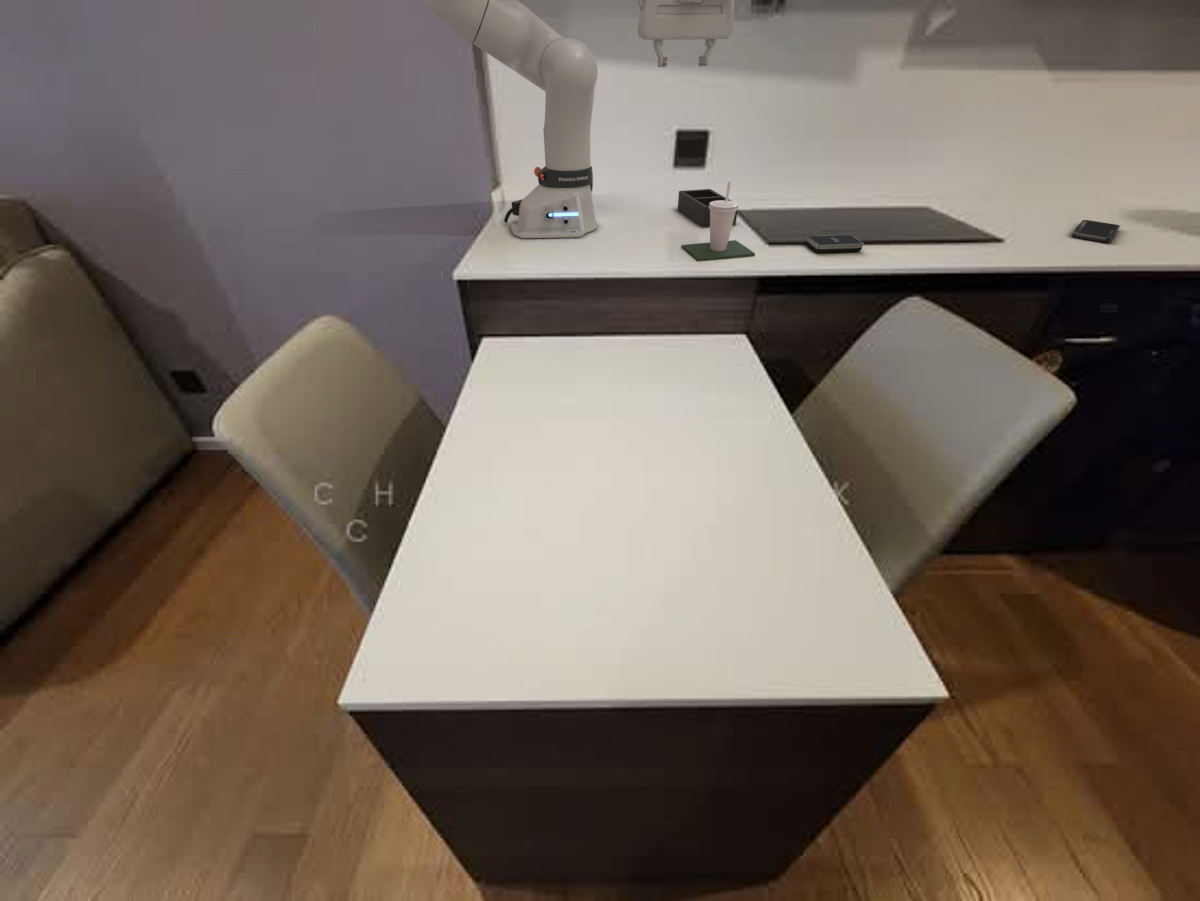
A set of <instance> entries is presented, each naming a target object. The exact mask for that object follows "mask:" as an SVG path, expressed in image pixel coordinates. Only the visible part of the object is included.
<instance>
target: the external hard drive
mask: <svg viewBox="0 0 1200 901" xmlns="http://www.w3.org/2000/svg"><path fill="white" fill-rule="evenodd" d="M805 245H807V246H808V247H810V248H811V249H812V250H813V251H814V252H815V253H818V254H823V253H847V252H848V253H849V252H850V253H851V252H860V251H862V249H863V246H864V242H863V241H861V240H860V239H858V237H855V236H853V235H852V234H829V235H828V234H824V235H807V236H806V240H805Z"/></svg>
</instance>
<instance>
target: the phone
mask: <svg viewBox="0 0 1200 901" xmlns="http://www.w3.org/2000/svg"><path fill="white" fill-rule="evenodd" d="M1120 228H1121V225H1119V224H1116V223H1110V222H1103V221H1096V220H1089V219H1083V220H1082V221H1081V222H1080V223H1079V224H1078V225H1077V226H1076V228H1075V229H1074V230H1073V232H1072V234H1071V237H1073V238H1076V239H1081V240H1086V241H1087V240H1088V241H1093V242H1098V243H1105V244H1106V243H1107V244H1109V243H1112V241H1113V240H1114V238H1115V237H1116V234H1117V233H1118V231H1119V229H1120Z"/></svg>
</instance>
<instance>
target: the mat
mask: <svg viewBox="0 0 1200 901" xmlns="http://www.w3.org/2000/svg"><path fill="white" fill-rule="evenodd" d="M680 246H681V249H682V250H684V251H685V252H686V253H687V254H688V255H690V256H691V257H692V258H693V259H694V260H695V261H696V262H705V261H706V262H707V261H716V260H727V259H736V258H737V259H738V258H748V257H755V256H756V253H755V252H754V251H752V250H751V249H749V248H748V247H746V246H745V245H744V244H742V243H741V242H740V241H738V240H736V239H735V240H728V243H727V247H726V250H724V251H714V250H711V249H710V242H700V243H689V244H687V243H686V244H681V245H680Z"/></svg>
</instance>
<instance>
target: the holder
mask: <svg viewBox="0 0 1200 901" xmlns="http://www.w3.org/2000/svg"><path fill="white" fill-rule="evenodd" d="M718 200H726V196H724V195H722V194H720V193H718V192H716V191H715V190H713V189H711V188H704V189H687V190H679V191H678V199H677V211H678V212H680V213H681V214H682V215H684V216H685V217H687V218H688V219H690V220H691V221H693V222H694V223H695V224H697V225H698V226H699V227H701V228H710V209H709V204H710V202H712V201H718ZM728 201H732V200H731V199H730V198H728ZM738 211H739V209H738V210H737V211H736V213H735V217H734V221H733V224H732V226H736V225H737V219H738V218H737V217H738Z"/></svg>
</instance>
